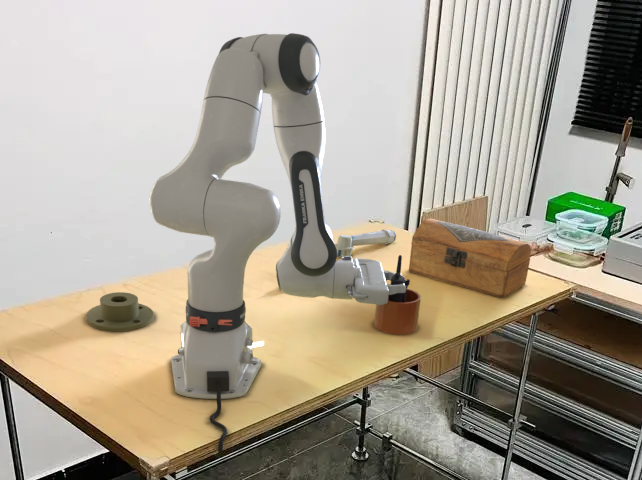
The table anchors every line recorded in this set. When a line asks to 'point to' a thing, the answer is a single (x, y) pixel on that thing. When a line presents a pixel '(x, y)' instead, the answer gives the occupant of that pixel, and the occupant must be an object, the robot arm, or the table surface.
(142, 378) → the table surface
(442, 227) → the wooden box
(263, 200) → the robot arm
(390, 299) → the two-way radio
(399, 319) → the brown round pot
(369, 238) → the toothbrush head
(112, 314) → the flange
